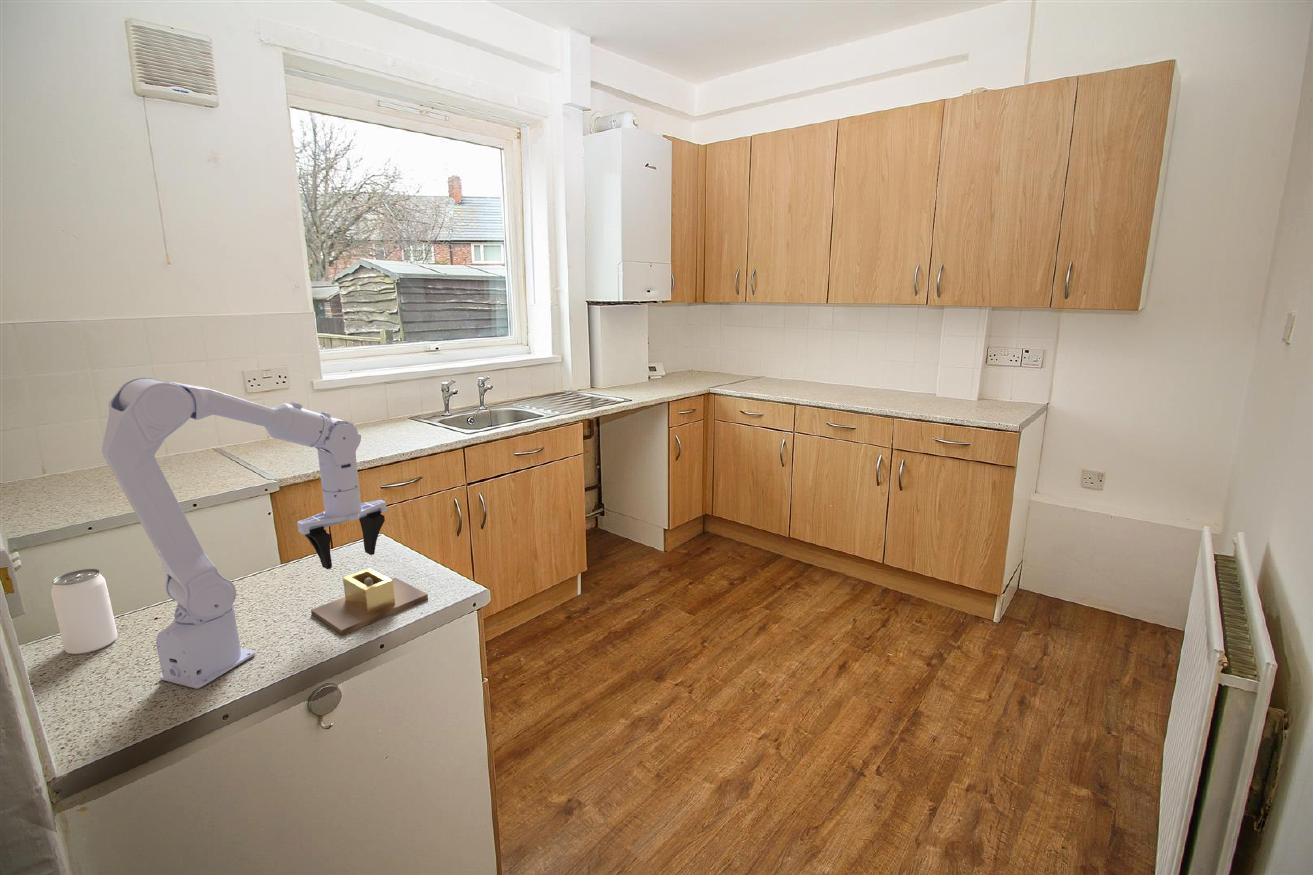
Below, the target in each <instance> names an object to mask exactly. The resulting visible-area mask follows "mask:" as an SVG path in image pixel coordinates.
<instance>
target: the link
mask: <svg viewBox="0 0 1313 875" xmlns="http://www.w3.org/2000/svg"><path fill="white" fill-rule="evenodd" d="M366 578H372V580H373V585H371V586H369V587H368V586H366V585H364V580H365V579H366ZM391 579H392V578H389V577H388V576H386V575H384V574H381V573H380V572H378V571H376V570H374V569H372V568H371V567H369V568H366V569H363V570H360V571H357V572H354V573H352V574H348V575H346V576H344V577H342V583H343V590H344V597H345V600H346V601H348V602H349V603H351V604H352V605H354V606H356V607H357V608H359V609H361V610H362V611H364V612H366V613H367V614H370V613H372V612H374V611H377V610H379V609H382V608H384V607H387V606H389V605H391V604H394V603H395V598H394V588H393V580H391Z"/></svg>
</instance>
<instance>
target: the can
mask: <svg viewBox="0 0 1313 875" xmlns="http://www.w3.org/2000/svg"><path fill="white" fill-rule="evenodd" d="M52 584H53V585H52V587H51V590H50V594H51V599H52V603H53V604H52V605H53V607H54V613H55V616H56V620H57V625H58V629H59V632H60V637H61V641H62V645H63V649H64V651H65V653H68V654H70V655H75V656H76V655H85V654H91V653H94V652H97V651H99V650H102V649H104V648H106V647H108V646H110V645H112V643H114V642H115V641H116V639H118V630H117V626H116V621H115V617H114V612H113V607H112V602H111V598H110V594H109V589H108V586H107V581H106V578H105V577H104V576H103V575H102V574H101V571H100V569H98V568H83V569H77V570H72V571H69V572H67V573H64V574H61V575H59V576H57V577H55V578H54V579H52Z"/></svg>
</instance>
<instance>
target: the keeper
mask: <svg viewBox="0 0 1313 875" xmlns="http://www.w3.org/2000/svg"><path fill="white" fill-rule="evenodd" d="M390 579H391V580H393V588H394V598H395V603H394V604H391V605H389V606H387V607H384V608H382V609H379V610H377V611H374V612H372V613H370V614H367V613H366V612H364V611H362V610H361V609H359V608H357V607H356V606H354V605H352V604H351V603H349V602H348V601H346V600H345V596H343V597H341V598H338V599H335V600H334V601H330V602H328V603H325V604H322V605H321V606H317V607H314V608H312V609H311V610H310V611H311V612H310V613H311V616H312V617H314V618H316V619H317V620H318V621H320V622H321V623H323V624H324V625H326V626H327V627H329V628H331V629H332V630H333V631H335V632H336V633H338V634H339V635H341V636H345V635H347V634H350V633H352V632H354V631H357V630H359V629H361V628H364V627H366V626H368V625H370V624H373V623H375V622H378V621H380V620H382V619H385V618H387V617H390V616H392V615H394V614H396V613H398V612H401V611H403V610H406V609H408V608H410V607H413V606H416V605H418V604H421V603H422V602H424V600H425V601H427V600H429V596H428V595H429V594H428V593H426V592H424V591H423V590H421V589H419V588H416V587H414V586H413V585H410V584H408V583H407V582H405V581H402V580H401V579H399V578H397V577H394V578H390ZM364 585H366V586H368V587H369V586H371V585H373V580H372V578H366V579H365V580H364ZM426 599H427V600H426Z"/></svg>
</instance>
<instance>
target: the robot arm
mask: <svg viewBox="0 0 1313 875" xmlns="http://www.w3.org/2000/svg"><path fill="white" fill-rule="evenodd" d="M303 406H304V405H303V404H302V403H298V402H295V401H291V402H290V403H286V402H282V403H279V404H278V405H275V406H273V407H269V406H265V405H263V404H259V403H256V402H253V401H250V400H247V399H243V398H240V397H237V396H234V395H231V394H228V393H224V392H221V391H218V390H215V389H211V388H208V387H204V386H198V385H193V384H187V383H181V382H175V381H166V382H163V381H161V380H159V379H156V378H153V377H147V376H140V377H135V378H132V379H129V380H128V381H126V382H125V383H124V384H122V385H121V386H120V387H119V389H118V390H117V391H116V393H114V395H113V396H112V398H111V399H109V402H108V417H107V418H108V419H107V423H106V428H105V432H104V437H103V442H102V446H101V452H102V457H103V458H104V460H105V462H106V463H107V465H108V468H110V471H111V473H112V474H113V476H114V477H115V480H116V481H117V484H118V485H119V487H120V489H121V490H122V492H123V494H124V496H125V497H126V499H127V500H128V502H129V505H130V506H131V508H132V510H133V512H134V513H135V516H136V517H137V518H138V521H139V523H140V525H141V526H142V528H143V529H144V531H145V533H146V535H147V537H148V538H149V541H150V542H151V544H152V545H153V547H154V549H155V551H156V553H157V554H158V557H159V558H160V560H161V562H162V564H161V568H162V570H163V572H164V574H165V591H166V593H167V596H168V597H169V598H170V599H172V600H173V601H175V602H177V605H176V607H175V610H174V613H173V616H174V619H173V621H172V622H171V623H170V624H169V625H168V626H167V627H166V628H164V629H162V630H161V631H160V632H159V633H158V634H157V636H156V640H155V644H156V650H157V655H158V661H159V665H160V670H161V674H160V675H159V677H158V678H159V680H162V681H165V682H166V681H167V682H169V683H173V684H177V685H180V686H186V687H189V688H193V689H196V690H197V689H201V688H202V687H204V686H206V685H207V684H209V683H211V682H213V681H214V680H216V679H217V678H219V677H220V676H222V675H224V674H225V673H227V672H229V671H230V670H232V669H234V668H235V667H237V666H239V665H240V664H242V663H244V662H245V661H247V660H249V659H251V658H252V657H254V656H255V655H256V651H255V650H251V649H246V648H243V647H241V642H240V638H239V631H238V625H237V619H236V612H235V606H234V603H235V601H236V598H237V589H236V586H235V584H234V583H233V581H231V580H230V579H228V578H227V577H225V576H223V575H222V574H221V573H220V572H219V570H218V569H217V567H216V565H215V564H214V562H213V561H212V560H211V559H210V558H209V556H208V555H207V553H205V551H204V549H203V546H202V545H201V544H200V542H199V539H198V538H197V535H196V534H195V531H194V530H193V528H192V526H191V523H190V522H189V520H188V518H187V516H186V514H185V512H184V511H183V509H182V507H181V505H180V503H179V501H178V499H177V497H176V496H175V493H174V491H173V489H172V488H171V486H170V484H169V481H168V480H167V478H166V476H165V474H164V472H163V470H162V468H161V466H160V464H159V462H158V461H157V459H156V457H155V456H156V454H157V452H158V450H160V447H161V446H162V444H163V443H164V442H165V440H166V438H168V437H169V436H170V435H172V434H173V433H174V432H176V431H177V430H179V429H180V428H181V427H182V426H184V425H185V423H187V422H188V421H189V420H190V419H193V420H195V421H198V420H202V419H205V418H208V417H210V416H213V415H214V416H219V417H223V418H227V419H232V420H235V421H239V422H244V423H248V424H252V425H256V426H261V427H264V428H265V430H266V431H267V433H268V435H269V436H270V437H271V438H272V439H276V440H277V439H278V440H281V441H285V442H290V443H293V444H297V445H301V446H305V447H309V448H315V449H316V450H317V455H318V456H317V457H318V466H319V467H318V468H319V474H320V475H319V476H320V481H321V489H322V498H323V500H322V501H323V506H324V511H322V512H319V513H317V514H315V515H313V516H310V517H308V518H307V517H306V518H305V519H301V520H298V521H296V522H297V523H296V524H297V528H298V529H297V530H298V533H299V534H301V535H303V536H305V538H307V540H308V542H310V544H311V545H312V547H313V548H314V550H315V552H316V554H317V556H318V558H319V561H320V563H321V566H322V568H324V569H325V570H331V569H332V566H333V563H332V556H331V536H332V535H331V534H329V533H328V532H327V530H326V529H325V528H328V527H331V526H336V525H339V524H343V523H346V522H352V521H356V520H359V524H360V528H361V531H362V538H363V548H364V552H365V554H368V555H370V556H373V555H375V551H376V547H377V546H376V545H377V541H378V538H379V537H378V536H379V534H380V531H381V529H382V527H383V525H384V523H385V520H386V519H385V515H384V514H383V513H386V512H387V511H388V510H387V502H386V501H384V500H382V499H377V500H373V501H367V502H362V501H361V492H360V483H359V473H358V464H357V463H358V462H357V454H356V453H357V450H358V448H359V446H360V444H361V441H362V440H361V439H362V434H360V433H359V431H358V429H357V428H356V426H354V424H353V423H352V422H350V421H348V420H347V421H346V420H343V419H340V418H336V417H332V416H331V413H329V412H325V411H322V412H321V413H320V412H316V411H312V410H309V409H306V408H303Z"/></svg>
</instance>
